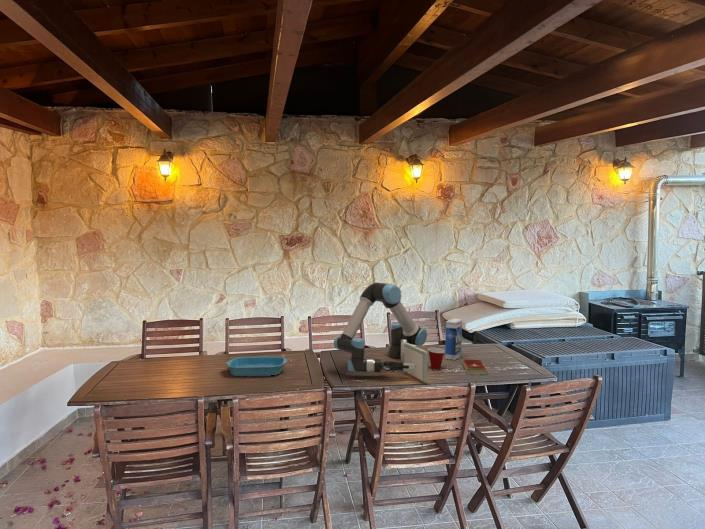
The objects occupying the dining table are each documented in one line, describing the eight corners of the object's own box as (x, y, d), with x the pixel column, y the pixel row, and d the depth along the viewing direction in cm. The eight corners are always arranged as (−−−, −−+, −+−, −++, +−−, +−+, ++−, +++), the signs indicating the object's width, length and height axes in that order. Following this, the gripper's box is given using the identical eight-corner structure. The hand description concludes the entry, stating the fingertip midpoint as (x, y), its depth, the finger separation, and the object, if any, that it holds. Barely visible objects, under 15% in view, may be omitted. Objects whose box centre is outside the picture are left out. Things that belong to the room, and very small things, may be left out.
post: (394, 371, 290) (394, 339, 288) (402, 368, 295) (403, 337, 294) (404, 374, 284) (404, 342, 283) (412, 371, 290) (413, 340, 288)
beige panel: (404, 370, 287) (404, 343, 286) (407, 369, 288) (407, 342, 287) (424, 381, 266) (424, 352, 265) (427, 381, 267) (427, 352, 265)
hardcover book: (480, 365, 305) (480, 359, 304) (486, 375, 284) (486, 368, 283) (461, 364, 306) (461, 358, 305) (466, 374, 285) (466, 368, 284)
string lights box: (455, 360, 314) (456, 322, 312) (444, 358, 318) (445, 321, 316) (461, 356, 325) (462, 319, 323) (451, 354, 329) (451, 318, 327)
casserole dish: (222, 378, 274) (222, 366, 274) (230, 367, 297) (230, 356, 296) (285, 378, 276) (285, 366, 275) (289, 366, 298) (289, 355, 298)
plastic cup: (444, 371, 290) (445, 352, 289) (427, 370, 292) (427, 351, 291) (445, 366, 301) (445, 347, 300) (427, 365, 303) (428, 346, 302)
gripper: (374, 368, 283) (413, 369, 282) (373, 375, 270) (415, 376, 269) (374, 356, 283) (413, 357, 281) (374, 362, 269) (415, 363, 268)
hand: (414, 366), depth 275 cm, fingers closed
